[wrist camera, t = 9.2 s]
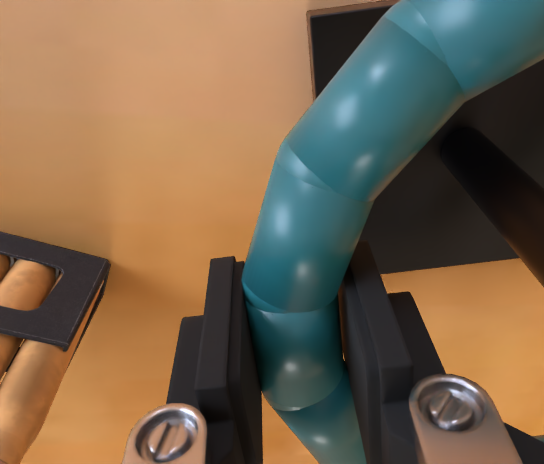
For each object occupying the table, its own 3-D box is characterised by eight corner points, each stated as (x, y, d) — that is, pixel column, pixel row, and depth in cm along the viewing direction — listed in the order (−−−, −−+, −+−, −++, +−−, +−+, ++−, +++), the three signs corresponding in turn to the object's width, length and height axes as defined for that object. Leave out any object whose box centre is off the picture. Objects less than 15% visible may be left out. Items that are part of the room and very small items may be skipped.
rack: (305, 10, 17) (355, 87, 9) (619, -32, 16) (965, 8, 8) (326, 264, 22) (368, 457, 14) (565, 236, 21) (748, 416, 14)
